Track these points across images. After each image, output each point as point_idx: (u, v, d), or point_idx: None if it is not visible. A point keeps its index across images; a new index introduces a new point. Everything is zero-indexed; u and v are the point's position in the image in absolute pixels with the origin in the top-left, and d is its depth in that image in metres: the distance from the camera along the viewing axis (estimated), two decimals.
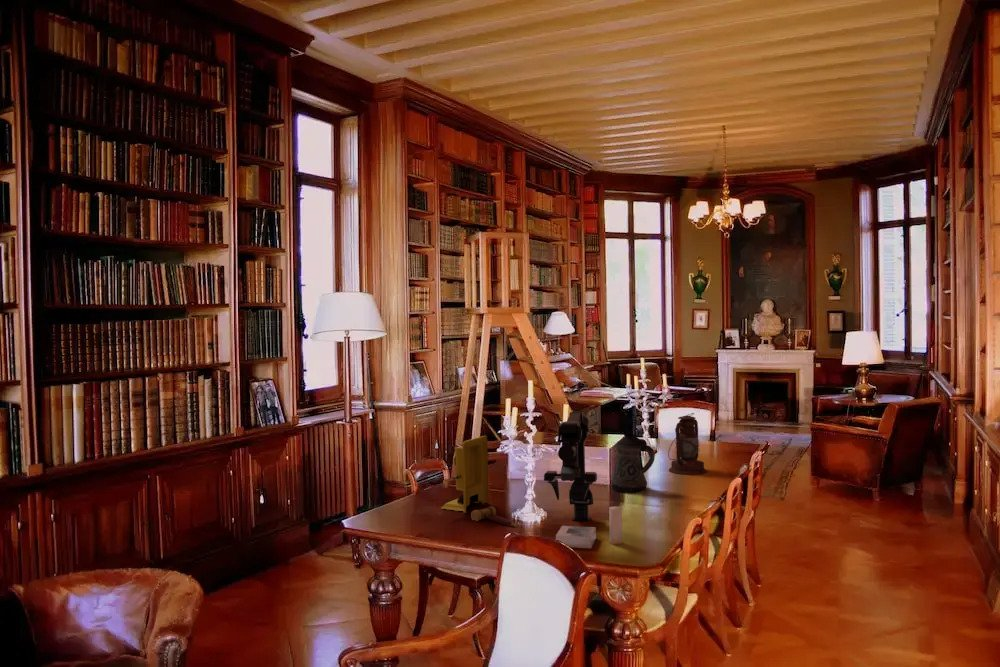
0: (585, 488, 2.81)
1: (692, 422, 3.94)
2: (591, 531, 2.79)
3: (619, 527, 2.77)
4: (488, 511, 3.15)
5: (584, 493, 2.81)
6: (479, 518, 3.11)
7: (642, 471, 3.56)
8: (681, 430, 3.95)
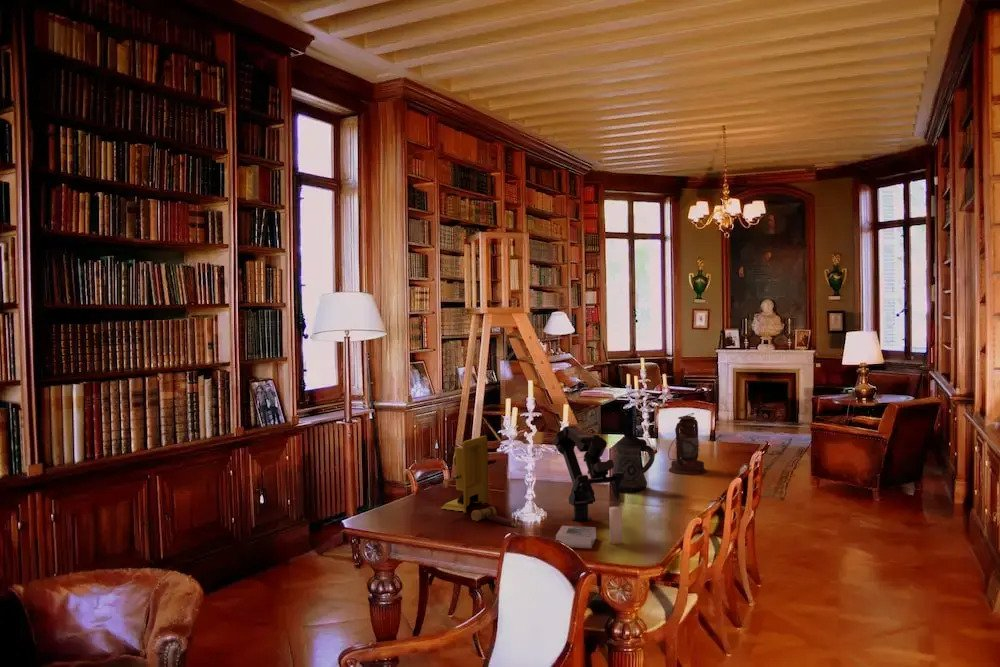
0: (617, 486, 2.89)
1: (692, 422, 3.94)
2: (591, 531, 2.79)
3: (619, 527, 2.77)
4: (488, 511, 3.15)
5: (617, 491, 2.88)
6: (479, 518, 3.11)
7: (642, 471, 3.56)
8: (681, 430, 3.95)
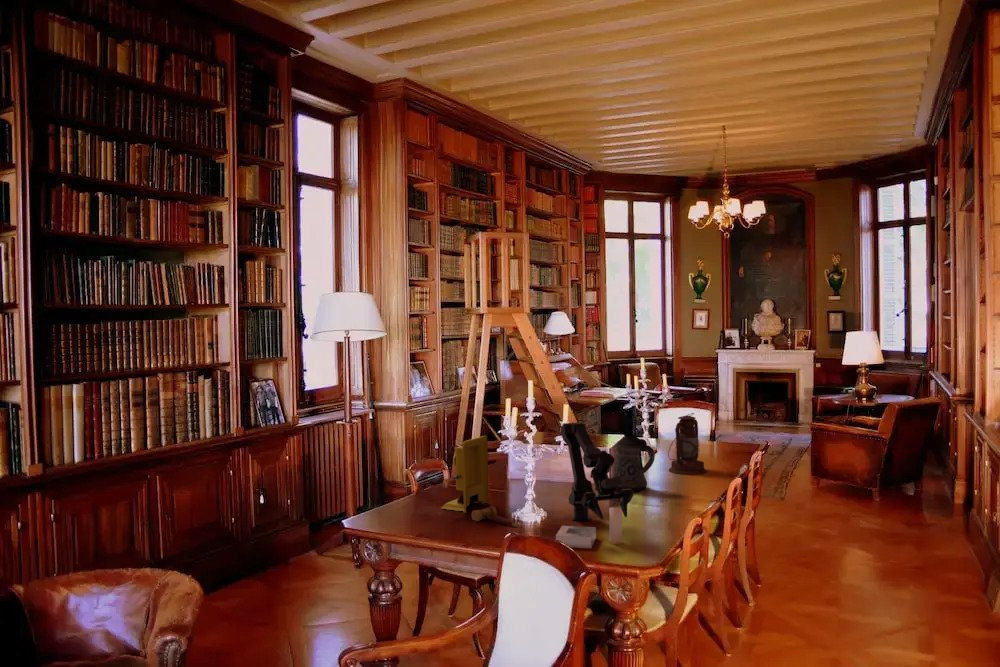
0: (625, 503, 2.83)
1: (692, 422, 3.94)
2: (591, 531, 2.79)
3: (619, 527, 2.77)
4: (489, 511, 3.15)
5: (626, 508, 2.82)
6: (480, 518, 3.11)
7: (642, 471, 3.56)
8: (681, 430, 3.95)
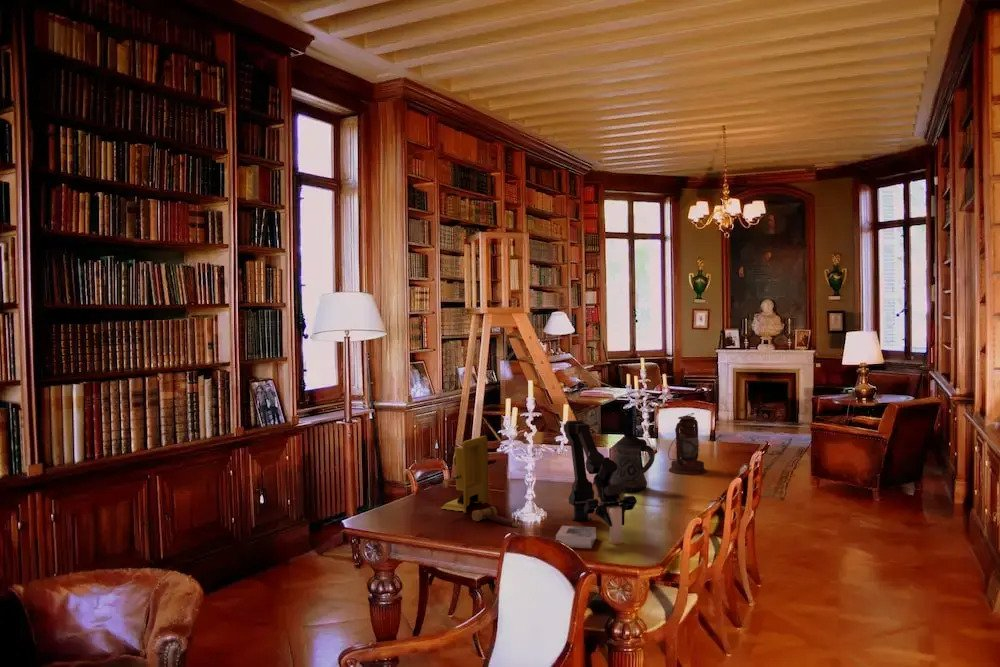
0: (622, 511, 2.80)
1: (692, 422, 3.94)
2: (591, 531, 2.79)
3: (619, 527, 2.77)
4: (489, 511, 3.15)
5: (623, 516, 2.79)
6: (480, 518, 3.11)
7: (642, 471, 3.56)
8: (681, 430, 3.95)
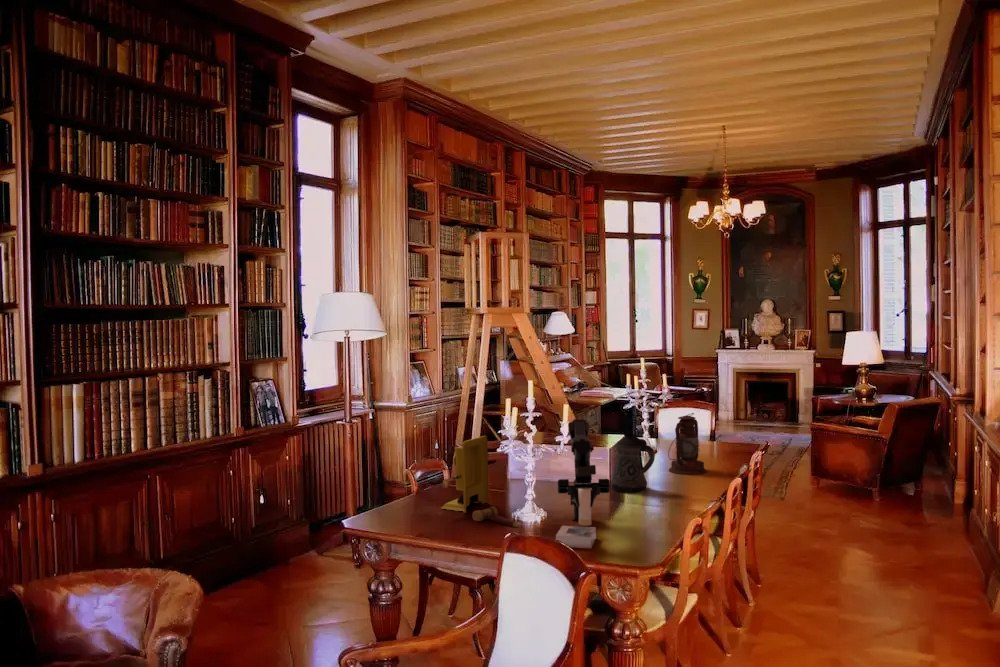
0: (593, 493, 2.80)
1: (692, 422, 3.94)
2: (591, 531, 2.79)
3: (586, 508, 2.77)
4: (489, 511, 3.15)
5: (592, 498, 2.79)
6: (481, 518, 3.11)
7: (642, 471, 3.56)
8: (681, 430, 3.95)
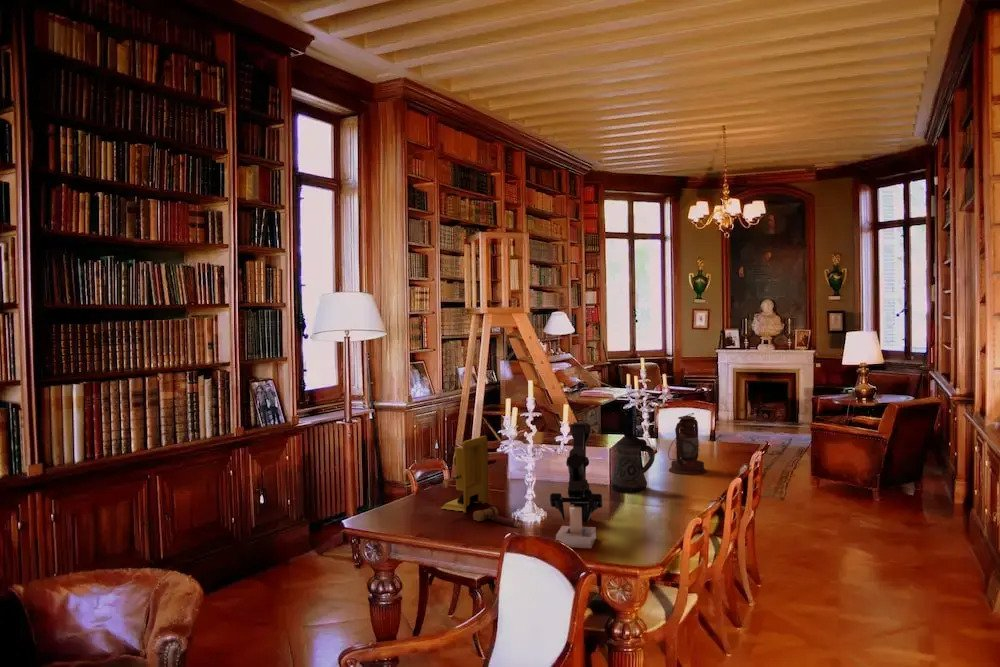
0: (589, 507, 2.80)
1: (692, 422, 3.94)
2: (591, 531, 2.79)
3: (577, 527, 2.78)
4: (490, 511, 3.14)
5: (589, 512, 2.79)
6: (481, 519, 3.10)
7: (642, 471, 3.56)
8: (681, 430, 3.95)
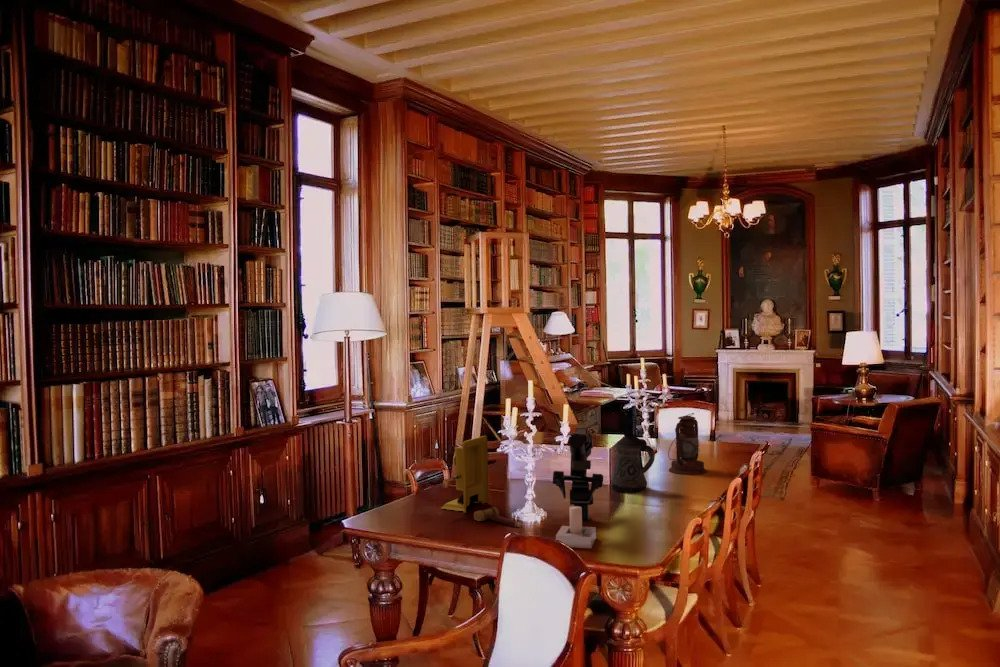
0: (592, 487, 2.90)
1: (692, 422, 3.94)
2: (591, 531, 2.79)
3: (577, 527, 2.78)
4: (491, 511, 3.14)
5: (591, 492, 2.89)
6: (482, 519, 3.10)
7: (642, 471, 3.56)
8: (681, 430, 3.95)
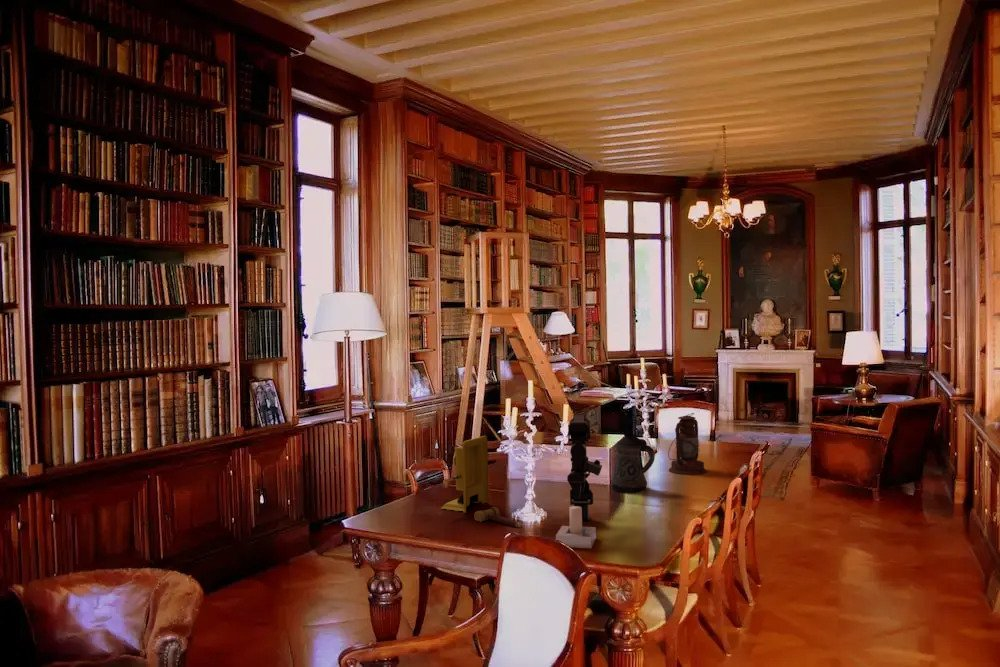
0: (585, 480, 3.00)
1: (692, 422, 3.94)
2: (591, 531, 2.79)
3: (577, 527, 2.78)
4: (491, 512, 3.14)
5: (584, 485, 3.00)
6: (483, 519, 3.10)
7: (642, 471, 3.56)
8: (681, 430, 3.95)
